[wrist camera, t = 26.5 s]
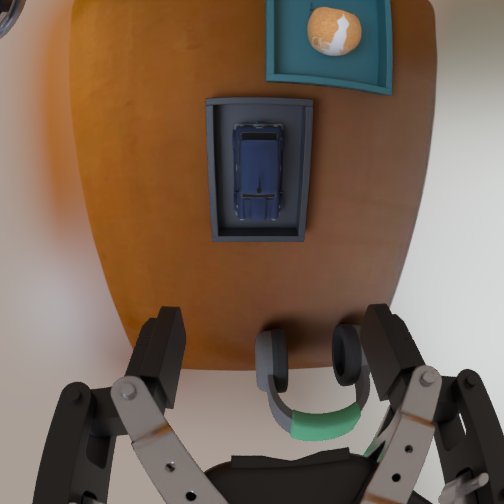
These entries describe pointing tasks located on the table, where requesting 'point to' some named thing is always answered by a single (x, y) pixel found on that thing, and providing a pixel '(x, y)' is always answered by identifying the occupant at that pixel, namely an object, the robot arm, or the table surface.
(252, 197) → the toy car
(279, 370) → the headphones
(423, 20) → the table surface
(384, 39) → the teal tray
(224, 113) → the charcoal tray
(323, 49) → the helmet
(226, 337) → the table surface
